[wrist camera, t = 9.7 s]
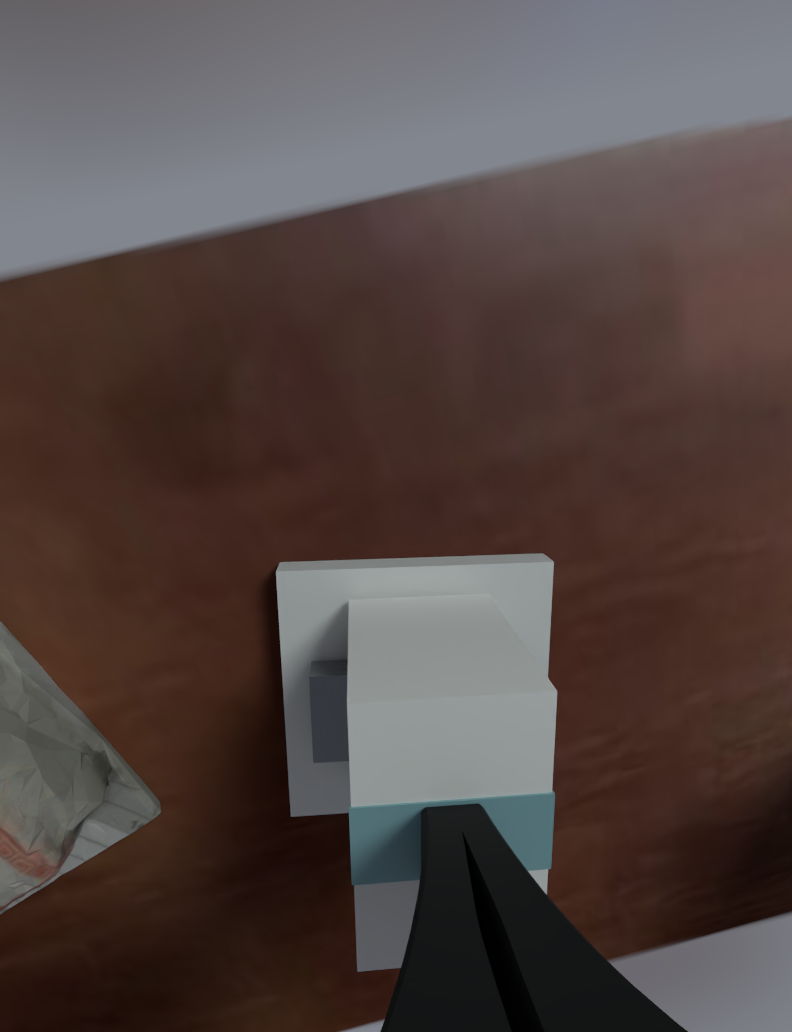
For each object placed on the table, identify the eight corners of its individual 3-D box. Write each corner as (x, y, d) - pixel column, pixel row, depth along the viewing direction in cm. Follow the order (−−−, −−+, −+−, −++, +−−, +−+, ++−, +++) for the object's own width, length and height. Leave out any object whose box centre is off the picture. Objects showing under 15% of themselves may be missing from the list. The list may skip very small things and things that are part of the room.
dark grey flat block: (522, 651, 18) (532, 665, 17) (519, 731, 18) (528, 749, 18) (311, 661, 17) (309, 676, 16) (315, 743, 18) (313, 763, 17)
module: (489, 593, 17) (560, 692, 11) (485, 782, 19) (546, 955, 13) (347, 600, 17) (344, 704, 11) (354, 791, 18) (355, 974, 13)
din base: (543, 553, 19) (553, 561, 18) (532, 780, 20) (541, 799, 19) (280, 562, 18) (275, 571, 17) (293, 796, 20) (290, 817, 19)
